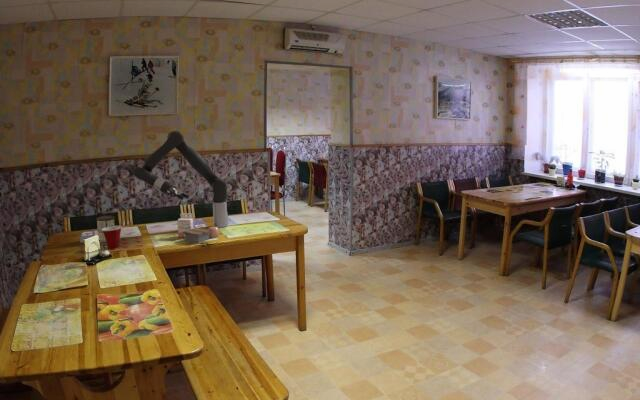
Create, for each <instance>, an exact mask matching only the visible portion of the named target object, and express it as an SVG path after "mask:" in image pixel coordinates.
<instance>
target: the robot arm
mask: <svg viewBox="0 0 640 400" xmlns="http://www.w3.org/2000/svg"><path fill="white" fill-rule="evenodd" d="M174 149H176V150H177V151H178V152H180V154H181V155H182V157H183V158H184V159H185V160H186V162H187V163H188V164H189V165H190V166H191V167H192V169H193V170H195V171H196V172H197V173H198V174H199V175H200V176H201V177H203V178H204V180H206V182H207V184H209V186H210V187H211V189H212V192H213V193H212V195H213V197H212V215H213V216H212V217H213V220H212V221H213V227H218V229H222V228H227V227H228V225H229V220H228V219H229V218H228V217H229V216H228V215H229V214H228V213H229V212H228V211H227V210H228V208H227V206H228V205H227V204H228V203H227V198H228V186H227V182H226V181H225V180H224V179H222V178H220V176H218V175H217V174H216V173H215V172H214V171H213V170H212V168H211V167H210V164H209V163H208V162H207V160H205V158H204V157H203V156H202V155H201V154H200V153H199V152H198V151H196V150H195V149H194V148H193V147H191V146H190V145H189V144H188V143H187V142H186V140H185V139H184V134H183V133H182V132H180V131H178V130H172V131H170V132H169V133H168V134H167V139H166V140H165V141H164V143H163V144H162V145H161V146H159V148H157V149H156V150H155V151H154V152H152V153H151V154H150V155H149V156H148V157H147V158H146V159H145V160H144V162H143V165H142V167H141V166H136V167H135V168H133V171H132V172H133V176H134V177H135V178H136V179H137V180H139V181H143V182H145V183H146V184H148V185H149V186H151V187H153V188H155V189H156V190H158V191H159V192H161V193H163V194H165V195H169V196H172V197H173V198H177V199H179V200H184V198H185V199H187V200H188V199H189V198H190V196H189V195H188V194H186V193H185V192H184V191H183V190H181V189H180V188H178V187H173V186H174V184H173V183H171V182H169V181H168V180H166V179H164V178H161V177H159V176H158V175H156V174H153V173H152V172H153V170H154V169H155V167H156V166H158V165H159V164H160V162H162V160H164V158H165V157H166V156H167V155H169V154H170V152H172V151H173V150H174Z"/></svg>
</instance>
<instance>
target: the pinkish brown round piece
mask: <svg viewBox="0 0 640 400" xmlns="http://www.w3.org/2000/svg"><path fill="white" fill-rule="evenodd" d="M207 229H210V230H211V231H210V232H209V239H217V238H219V236H220V235H219V228H218V227H214V226H209V227H208V228H207Z"/></svg>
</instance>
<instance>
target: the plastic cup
mask: <svg viewBox="0 0 640 400" xmlns="http://www.w3.org/2000/svg"><path fill="white" fill-rule="evenodd" d="M102 231H103V233H104V236H105V239H106V242H105V243H106V245H107V248H108V249H110V250H112V249H113V250H114V249H118V248H119V247H120V243H121V241H120V240H121V233H122V225H115V226H111V227H106V228H103V229H102Z"/></svg>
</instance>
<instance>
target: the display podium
mask: <svg viewBox="0 0 640 400" xmlns="http://www.w3.org/2000/svg"><path fill="white" fill-rule="evenodd" d="M210 231H211V230H210V229H208V228H201V227H193V229H190V230H187V231H184V232H183V234H185V238H184V240H185V242H188V243H195V244H200V243H203V242H205V241H209V240H210V238H209V232H210Z"/></svg>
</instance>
